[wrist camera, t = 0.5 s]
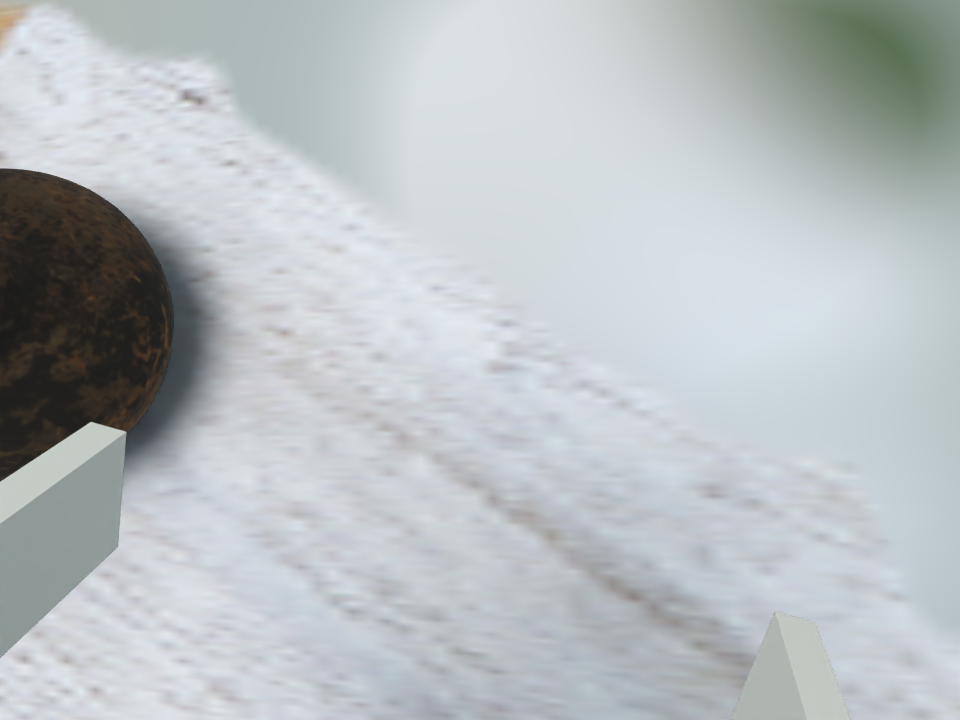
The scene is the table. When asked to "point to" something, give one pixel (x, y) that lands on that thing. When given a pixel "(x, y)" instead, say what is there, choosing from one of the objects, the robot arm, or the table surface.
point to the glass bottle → (74, 316)
